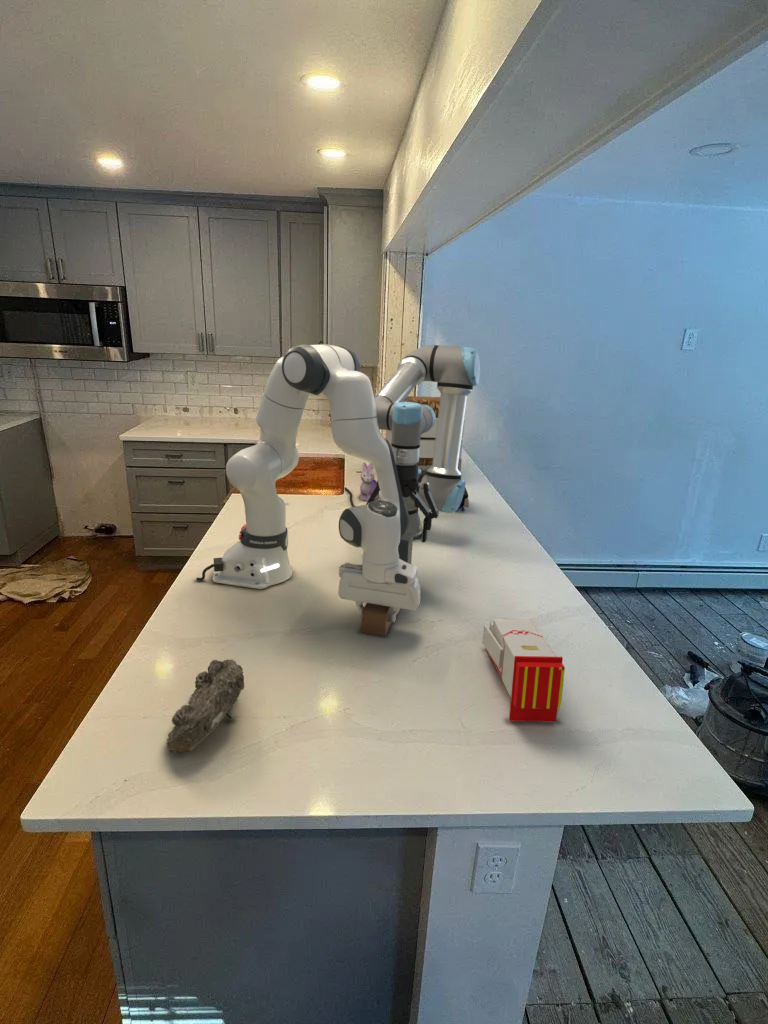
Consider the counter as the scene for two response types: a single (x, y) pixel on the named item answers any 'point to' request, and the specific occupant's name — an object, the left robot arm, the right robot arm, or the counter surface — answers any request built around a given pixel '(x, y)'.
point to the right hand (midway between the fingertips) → (399, 537)
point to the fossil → (206, 705)
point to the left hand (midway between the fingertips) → (378, 618)
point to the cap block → (406, 547)
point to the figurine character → (464, 500)
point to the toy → (526, 669)
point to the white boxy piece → (428, 437)
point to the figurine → (367, 482)
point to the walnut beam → (376, 619)
